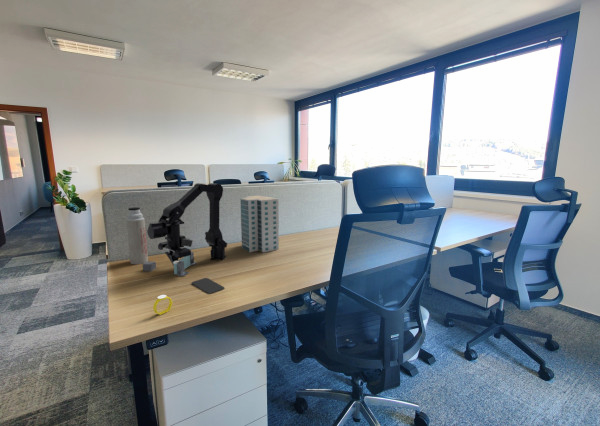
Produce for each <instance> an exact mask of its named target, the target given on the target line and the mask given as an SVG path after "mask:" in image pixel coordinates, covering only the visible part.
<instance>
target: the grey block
mask: <svg viewBox="0 0 600 426" xmlns="http://www.w3.org/2000/svg"><path fill="white" fill-rule="evenodd" d="M178 261H179V260H178ZM177 268H178V274H176V276H177V277H185V276H187V275H188V274H189V271H186V269H184V261H179V262H178V263H177Z"/></svg>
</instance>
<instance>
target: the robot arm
mask: <svg viewBox="0 0 600 426" xmlns="http://www.w3.org/2000/svg"><path fill="white" fill-rule="evenodd" d="M203 192H204V193H205V192H206V193H205V194H206V197H207V199H208V201H209V229H208V231H205V233H204V235H205V237H204V240H205V242H206V243H207V245H208V246H209V248H210V260H211V261H214V260H215V261H223V260H224V259H226V257H227V254H226V250H225V249H226V248H228V247H227V246H228V242H226V241H225V240H224V239H223V238H224V237H223V233H222V231H221V229H220V201H221V199H222V197H223V194H224V187H223V186H222V184H220V183H214V182H212V183H208V184H205V183H199V182H197V183H195V184H194V185H193V186H192V187H191V189H189V190H188V191H187V192H185V194H184V195H183V196H181V198H180V199H178V200H177V201H175V202H174V203H171V204H169V205H168V206H166V207H165V208H164V209H163V210H162V215H161V216H160V218H159V219H158V222H150V223H149V224H148V227H147V230H146V231H147V232H146V233H147V236H148V238H149V239H150V240H155V239H160V238H164V240H166V241H163V242H160V243H158V244H157V250H160V251H162V250H163V249H164V248H165V252H164V254H165V255H166V256H167V258H168V259H169V261H170V262H171V264H172V266H173V267H174V264H173V262H174V261H179V260H180V259H182V258H184V257H186V256H189V255H191V252H192V250H191V249H189V248H192V245H193V242H194V241H193V240H192V239H191V238H190V239H189V238H186V236H185V235H181V225H184V224H185V221H184V220H182V219H181V218H182V216H183V215H184V213H185V210H186V209H187V208H188V207H189V206H190V205H191V204H192V203H193V202H194V201H195V200H196V199H197V198H198V197H199V196H200V195H201V194H202V193H203ZM188 247H189V248H188Z"/></svg>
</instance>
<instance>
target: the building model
mask: <svg viewBox="0 0 600 426" xmlns="http://www.w3.org/2000/svg"><path fill="white" fill-rule="evenodd" d="M239 202H240V203H239V204H240V227H241V228H240V229H241V234H240V236H241V248H242V249H243V250H245V251H247V252H249V253H253V252H257V251H258V252H261V253H268V252H273V251H277V250H280V246H279V244H280V242H279V241H280V237H279V234H280V233H279V222H280V221H279V198H276V197H275V198H274V197H270V196H263V195H252V196H251V195H250V196H249V195H248V196H244V197H241V198H240V201H239Z"/></svg>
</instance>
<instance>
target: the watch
mask: <svg viewBox="0 0 600 426" xmlns="http://www.w3.org/2000/svg"><path fill="white" fill-rule="evenodd" d="M166 299H168V307H166V309H165V310H162V311H158V310H157V306H158V303H159V302H160V301H164V300H166ZM172 305H173V299H172V298H171V297H169V296H167V294H161V295H158V296H157V298H156V300H155V301H154V303H153V306H152V309H153V312H154V313H155V314H156V315H158V316H159V315H160V316H162V315H164V314H165V313H166V314H167V313H168V312H169V311H170V310H171V308H172Z"/></svg>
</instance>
